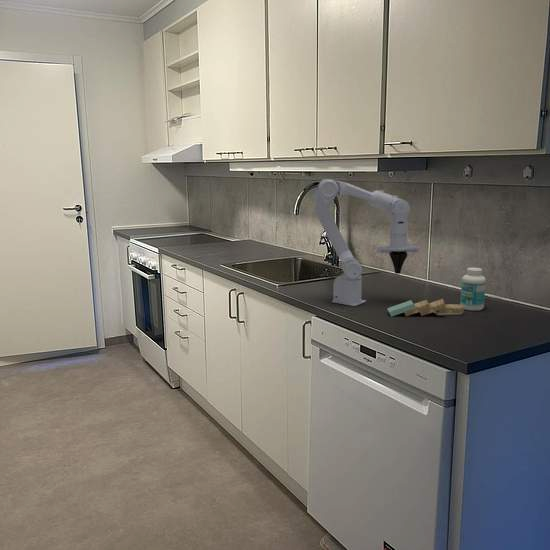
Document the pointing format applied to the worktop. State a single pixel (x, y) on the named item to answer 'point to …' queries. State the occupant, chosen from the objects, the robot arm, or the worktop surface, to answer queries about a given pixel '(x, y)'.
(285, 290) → the worktop surface
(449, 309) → the domino
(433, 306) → the domino
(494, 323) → the worktop surface
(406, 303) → the domino
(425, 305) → the domino
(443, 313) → the domino
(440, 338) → the worktop surface
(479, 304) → the pill bottle
